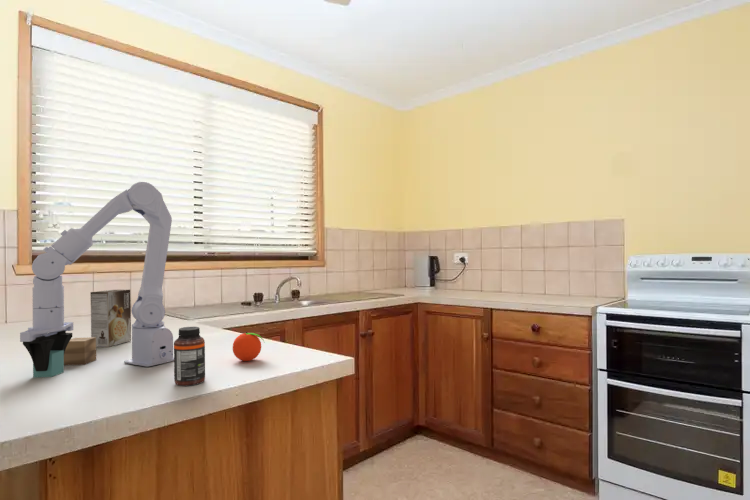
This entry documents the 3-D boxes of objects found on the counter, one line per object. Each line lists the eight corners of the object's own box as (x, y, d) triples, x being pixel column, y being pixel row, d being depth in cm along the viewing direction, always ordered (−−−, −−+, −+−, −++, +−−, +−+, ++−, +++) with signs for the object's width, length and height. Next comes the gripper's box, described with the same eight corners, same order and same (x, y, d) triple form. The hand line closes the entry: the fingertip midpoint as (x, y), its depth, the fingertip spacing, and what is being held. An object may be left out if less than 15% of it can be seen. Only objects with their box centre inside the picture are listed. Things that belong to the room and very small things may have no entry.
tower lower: (84, 365, 110) (84, 353, 110) (63, 366, 110) (63, 353, 110) (96, 360, 115) (96, 349, 115) (76, 361, 115) (76, 349, 115)
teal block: (51, 376, 99) (51, 354, 99) (33, 377, 99) (33, 354, 99) (63, 372, 103) (63, 350, 103) (45, 372, 103) (45, 350, 103)
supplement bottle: (179, 379, 96) (179, 325, 96) (208, 378, 97) (208, 325, 97) (169, 387, 90) (169, 330, 91) (200, 386, 91) (199, 329, 91)
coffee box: (114, 340, 142) (113, 289, 142) (131, 341, 141) (131, 289, 141) (90, 346, 133) (89, 291, 133) (108, 347, 132) (108, 291, 132)
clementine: (269, 357, 116) (269, 329, 116) (259, 364, 109) (259, 334, 109) (239, 357, 116) (239, 329, 117) (227, 364, 110) (227, 334, 110)
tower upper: (84, 353, 111) (84, 341, 111) (63, 353, 110) (63, 341, 110) (95, 349, 116) (95, 337, 116) (75, 349, 115) (75, 337, 115)
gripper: (51, 304, 108) (52, 360, 108) (4, 311, 94) (5, 377, 94) (82, 303, 109) (82, 360, 109) (39, 311, 94) (40, 376, 94)
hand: (48, 368), depth 101 cm, fingers closed on teal block, 4 cm apart
